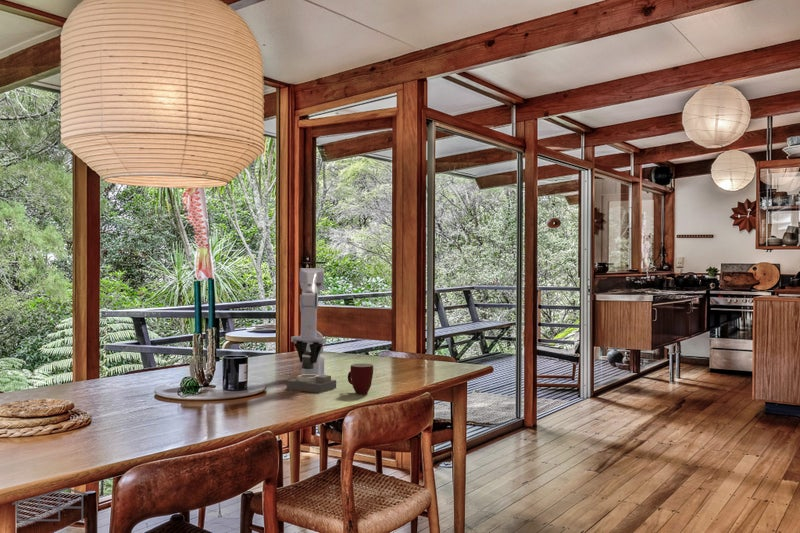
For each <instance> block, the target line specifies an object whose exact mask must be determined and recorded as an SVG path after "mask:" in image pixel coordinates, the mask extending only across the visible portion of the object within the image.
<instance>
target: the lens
mask: <svg viewBox="0 0 800 533" xmlns="http://www.w3.org/2000/svg"><path fill="white" fill-rule="evenodd" d="M302 368H303V369H313V368H314V363H312V362H311V351H302V362H301V369H302Z"/></svg>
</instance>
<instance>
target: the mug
mask: <svg viewBox="0 0 800 533" xmlns="http://www.w3.org/2000/svg"><path fill="white" fill-rule="evenodd" d="M373 376H374V365H373V364H372V363H353V364H351V365H350V371H349V372H348V374H347V381H348V383H349V384H350V385H351V386H352V389H353V390H354V392H355V394H356V395H367V394H368V392H369V391H370V389H371V387H372V383H373V382H372V381H373Z"/></svg>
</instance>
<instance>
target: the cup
mask: <svg viewBox="0 0 800 533" xmlns="http://www.w3.org/2000/svg"><path fill="white" fill-rule="evenodd" d="M193 358H194V357H192V358H189V360H188V362H189V363H188V364H189V374H190V378H191V377H195V371H194V360H193ZM203 358H204V360H203V368H204V370H206V358H207V357H203Z"/></svg>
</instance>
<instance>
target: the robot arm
mask: <svg viewBox="0 0 800 533" xmlns="http://www.w3.org/2000/svg"><path fill="white" fill-rule="evenodd" d="M324 282H325V269H324V268H323V267H322V268H320V267H319V268H313V267H310V268H307V267H305V268H303V267H300V268H299V285H300V289H301V294H299V309H300V310H299V311H300V334H299V335H293V336H291V337H290V338H291V339H290V342H291V343H294V344H293V346H294V347H295V348H294V349H296V352H297V355H298V359H299V362H300V363H302V351H311V362H312V363H314V368H313V369H303V368H302V367H301V375H302V374H315V375H319V376H320V375H327V374H325V359H324V358H325V357H324V356H323V355H322V354H323V353H324V345H326V344H327V338H324V336H323V334H322V333H321V332H319V331H318V330H317V327H318V326H317V318H318V316H317V315H318V307H319V295H318V294H319V291H322V290H323V289H324V286H325V285H324V284H325V283H324ZM296 378H298V375H297V376H296Z"/></svg>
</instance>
